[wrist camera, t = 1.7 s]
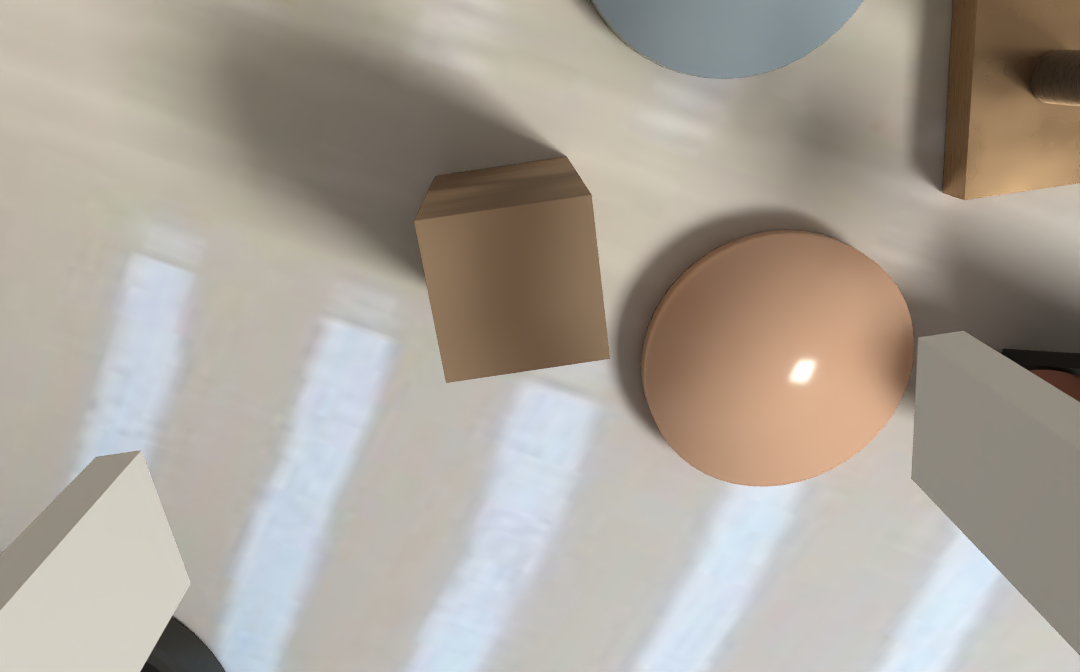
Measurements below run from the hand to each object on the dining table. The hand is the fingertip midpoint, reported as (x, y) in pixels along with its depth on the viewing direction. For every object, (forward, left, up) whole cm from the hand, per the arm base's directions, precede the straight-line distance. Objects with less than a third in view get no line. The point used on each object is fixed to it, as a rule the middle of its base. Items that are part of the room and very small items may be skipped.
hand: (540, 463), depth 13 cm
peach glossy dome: (+10, -7, -18) cm, 21 cm away
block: (0, 0, -18) cm, 18 cm away
